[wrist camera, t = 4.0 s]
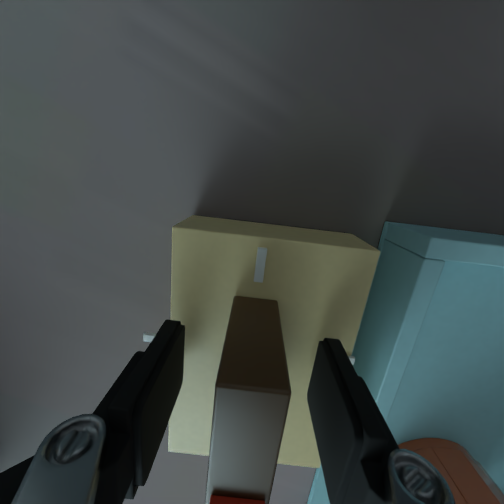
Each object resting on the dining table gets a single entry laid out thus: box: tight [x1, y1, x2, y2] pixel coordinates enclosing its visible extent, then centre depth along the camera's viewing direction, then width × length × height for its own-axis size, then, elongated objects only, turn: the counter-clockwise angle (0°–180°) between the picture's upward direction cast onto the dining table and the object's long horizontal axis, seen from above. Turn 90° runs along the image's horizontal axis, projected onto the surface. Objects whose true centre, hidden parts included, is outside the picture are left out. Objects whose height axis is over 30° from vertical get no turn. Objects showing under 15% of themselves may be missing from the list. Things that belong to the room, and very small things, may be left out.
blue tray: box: [307, 221, 504, 504], centre depth 13 cm, size 22×14×3 cm, turn 173°
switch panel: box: [143, 215, 380, 468], centre depth 12 cm, size 12×9×3 cm
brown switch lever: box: [205, 296, 292, 504], centre depth 8 cm, size 5×2×5 cm, turn 173°
